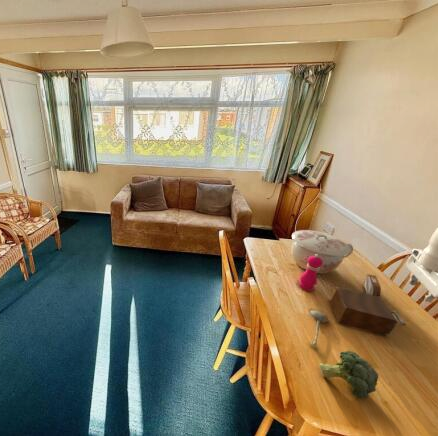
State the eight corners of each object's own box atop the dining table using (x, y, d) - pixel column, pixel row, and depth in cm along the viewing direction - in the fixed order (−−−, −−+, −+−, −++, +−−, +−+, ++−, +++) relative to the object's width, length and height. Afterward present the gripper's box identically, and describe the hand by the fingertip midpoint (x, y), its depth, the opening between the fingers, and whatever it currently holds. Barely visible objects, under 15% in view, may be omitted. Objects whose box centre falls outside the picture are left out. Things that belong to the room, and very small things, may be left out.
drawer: (389, 315, 101) (397, 303, 97) (404, 338, 90) (413, 325, 87) (337, 302, 108) (342, 290, 105) (345, 322, 97) (351, 309, 94)
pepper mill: (313, 284, 120) (325, 253, 111) (314, 293, 114) (327, 260, 106) (297, 280, 123) (308, 249, 115) (297, 288, 118) (309, 256, 109)
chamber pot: (277, 264, 136) (286, 234, 127) (293, 247, 152) (302, 219, 144) (334, 289, 117) (349, 255, 108) (345, 266, 134) (359, 236, 125)
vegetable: (315, 346, 86) (367, 349, 78) (325, 387, 81) (382, 394, 73) (314, 352, 77) (373, 356, 69) (326, 398, 72) (391, 408, 64)
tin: (376, 304, 108) (384, 290, 104) (367, 301, 109) (375, 288, 105) (369, 285, 119) (376, 272, 116) (361, 283, 121) (367, 270, 117)
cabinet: (371, 311, 104) (380, 296, 100) (385, 336, 92) (395, 320, 89) (330, 301, 109) (337, 286, 106) (338, 323, 98) (346, 307, 94)
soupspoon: (327, 317, 102) (310, 310, 106) (329, 311, 100) (312, 305, 104) (323, 352, 86) (303, 343, 90) (326, 346, 85) (305, 336, 89)
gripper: (472, 282, 72) (449, 314, 78) (432, 250, 89) (415, 278, 94) (444, 277, 74) (423, 308, 80) (410, 246, 91) (395, 274, 97)
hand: (419, 291), depth 87 cm, fingers open, 8 cm apart
